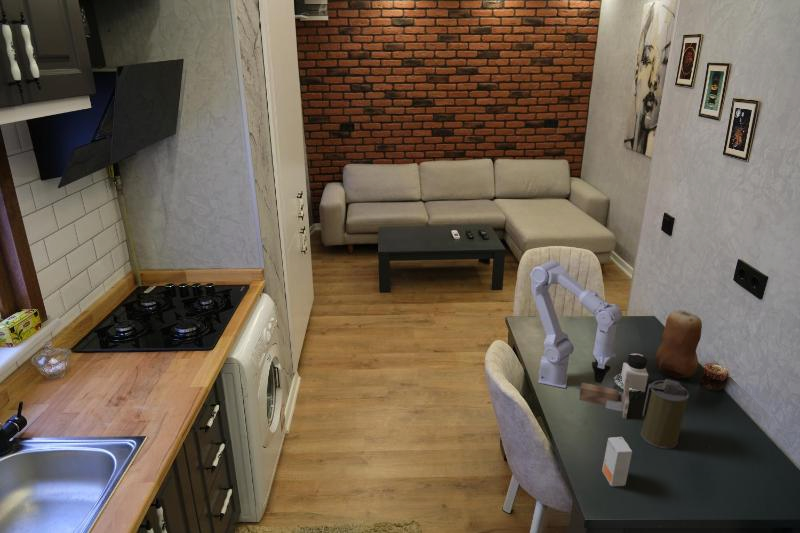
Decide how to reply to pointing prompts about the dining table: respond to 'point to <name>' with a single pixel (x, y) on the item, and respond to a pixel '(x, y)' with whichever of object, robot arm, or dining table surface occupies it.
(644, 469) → the dining table surface
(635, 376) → the medicine bottle
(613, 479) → the skincare box
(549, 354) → the robot arm
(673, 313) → the butternut squash
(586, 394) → the brown wooden block
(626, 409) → the wall plate
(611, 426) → the dining table surface
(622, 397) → the bracket
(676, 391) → the canister
